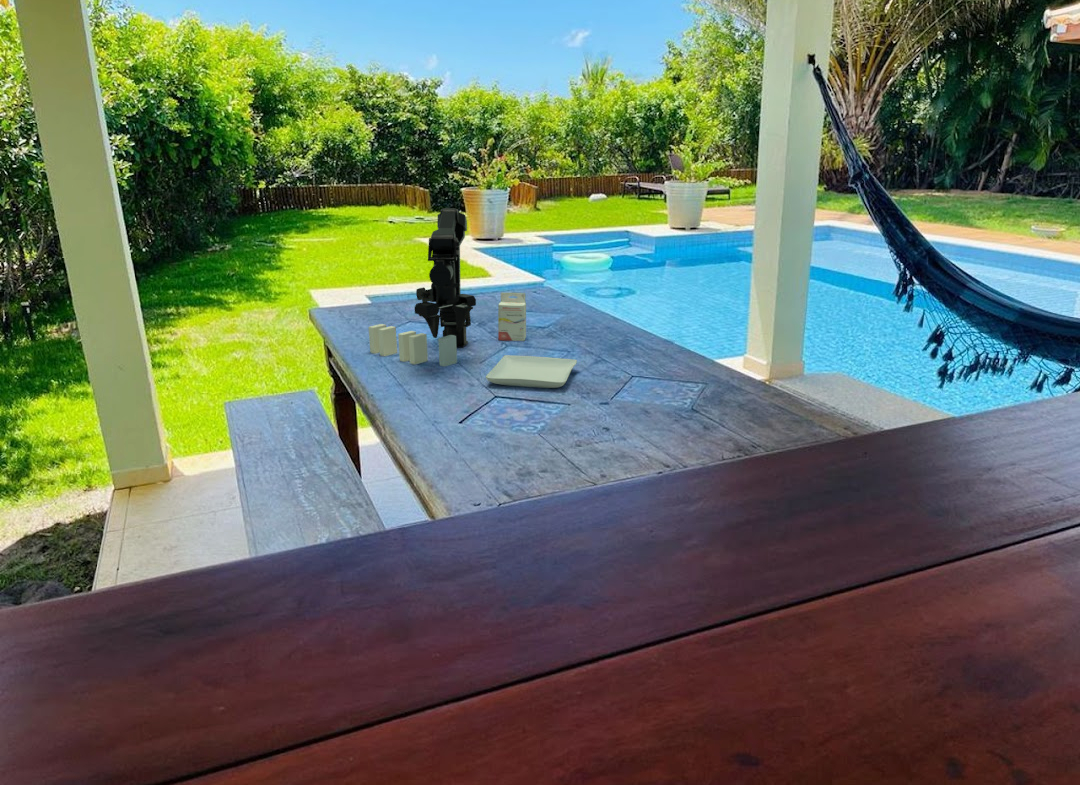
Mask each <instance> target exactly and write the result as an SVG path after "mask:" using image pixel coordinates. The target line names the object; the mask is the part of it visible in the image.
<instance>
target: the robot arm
mask: <svg viewBox="0 0 1080 785" xmlns="http://www.w3.org/2000/svg"><path fill="white" fill-rule="evenodd" d="M436 227H437V229H435V230H434V231H433V232H432V233H431V237H429V238H428V247H427V248H428V249H427V250H428V251H427V261H428V262H433V266H432V267H431V269H430V271H429V273H428V274H429V275H428V277H429V280H430V282H431V285H430V288H429V289H428V288H427V289H426V288H425V287H419V288H416V292H415V293H416V294H415V295H416V299H417V301H420V302H417V303H415V305H414V315H418V317H421V318H423V319H424V320H425V321H426V324H427V325H428V328H429V331H430V333H431V336H432V337H433V338H435V339H438V334H439V328H440V327H441V328H443V330H442V337H445V336H448V335H454V336H456V347H457V348H464V347H465V346H466V345H467V344H468V343H469V340H467V328H468V327H470V326H471V325H472V324H471V320H472V318H471V311H472V310H473V308H474V306H475V307H476V306H477V301H476V300H477V299H476V297H475V295H473V294H466V293H462V292H461V244H462V243H463V241H464V239H465V238H466V232H467V231H468V220H467V216H466V214H464V213H462V212H460V211H459V209H458V208H456V207H455V208H454V207H453V208H451V207H447V208H445V207H444V208H442V209H440V213H438V214H437V225H436Z"/></svg>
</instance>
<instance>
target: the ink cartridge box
mask: <svg viewBox="0 0 1080 785" xmlns="http://www.w3.org/2000/svg"><path fill="white" fill-rule="evenodd" d="M512 297H515V298H512ZM497 307H498V308H497V310H498V311H497V313H498V314H497V315H498V317H497V322H498V324H497V326H498V327H497V328H498V331H497V332H498V333H497V334H498V336H497V337H498V341H508V342H513V341H514V342H525V341H526V337H527V303H526V293H525V292H501V293H500V301H499V303H498V306H497Z"/></svg>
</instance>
